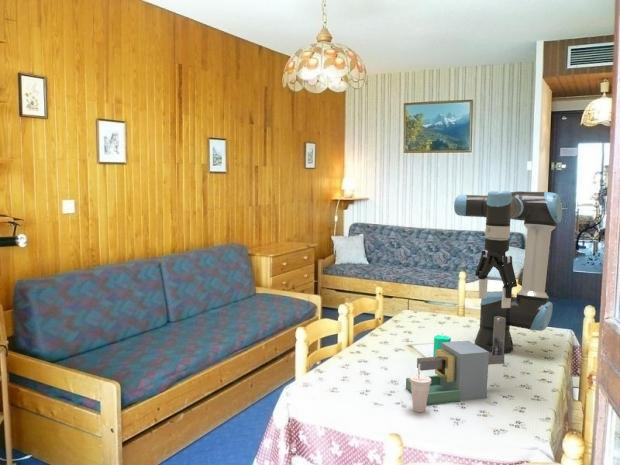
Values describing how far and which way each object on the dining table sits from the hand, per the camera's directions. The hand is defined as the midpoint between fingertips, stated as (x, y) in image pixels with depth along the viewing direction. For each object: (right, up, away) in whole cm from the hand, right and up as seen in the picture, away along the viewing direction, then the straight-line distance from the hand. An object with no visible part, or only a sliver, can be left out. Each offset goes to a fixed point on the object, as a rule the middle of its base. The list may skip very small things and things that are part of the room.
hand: (493, 302), depth 180 cm
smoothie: (-28, -30, -15) cm, 44 cm away
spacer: (-17, -20, -4) cm, 26 cm away
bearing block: (-11, -29, -1) cm, 31 cm away
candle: (-11, -26, +24) cm, 38 cm away
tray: (-21, -29, -4) cm, 36 cm away
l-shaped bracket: (-11, -20, -2) cm, 23 cm away
